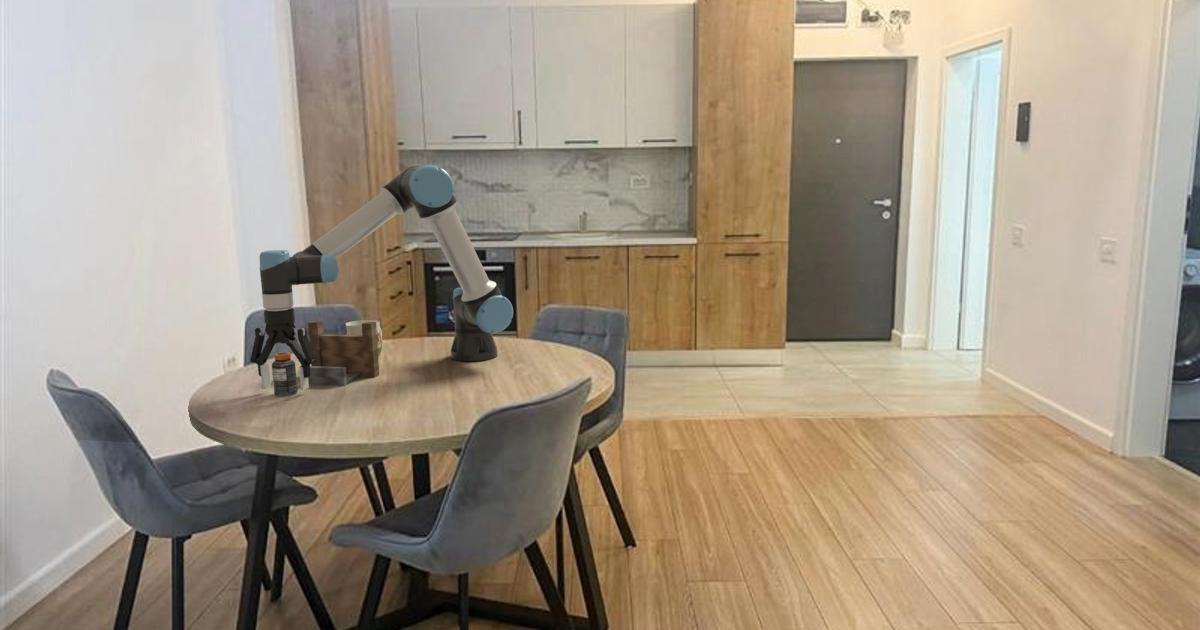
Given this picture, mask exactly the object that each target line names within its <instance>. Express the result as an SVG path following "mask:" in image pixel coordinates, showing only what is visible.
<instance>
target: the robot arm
mask: <svg viewBox="0 0 1200 630" xmlns="http://www.w3.org/2000/svg"><path fill="white" fill-rule="evenodd" d="M454 187H455V186H454V181H453V179H452V177H451V176H450V174H449V173H448V172H447V170H445V169H444V168H442V167H440V166H437V165H433V164H423V165H422V164H421V165H415V166H410V167H407V168H405V169H403V170H402V171H401V172H400V173H398V175H397V176H395V177H393V178H392V179H391V180H390V181H389V182H387V183H386V184H385V185H384V186H383V187H380V193H379V194H377V195H376V196H374V197H373V198H372V199H371V200H369V201H368V202H367V203H365V204H364V205H363V206H362V207H360V208H359V209H358V210H356V211H355V212H353V213H351V214H350V215H349V216H348V217H346V218H345V219H344V220H342V221H341V222H340V223H339V224H337V225H336V226H334V227H333V228H332V229H330V230H329V231H328V232H326V233H325V234H324V235H322V236H321V237H319V238H318V239H317V240H315V241H314V242H313V243H312V244H310V245H308V246H307V247H305V249H303V250H301V251H298V252H296V253H294V254H292V255H290V251H288V250H285V249H278V250H277V249H276V250H275V249H273V250H264V251H261V252H260V254H259V275H260V276H259V277H260V284H261V285H260V286H261V295H262V296H261V297H262V307H263V308H262V309H264V311H263V316H264V317H263V318H264V319H263V320H264V323H265V327H264V326H260V327H256V328H255V329H254V334H255V338H254V342H253V347H252V351H251V356H250V363H254V364H256V366H257V372H258V376H259V377H261V389H262V390H267V389H268V388H271V387H272V384H271V374H270V365H269V364H270V363H268V359H269V356H270V354H271V352H272V350H273V349H274V347H275V344H279V343H280V344H285V345H286V346H288V347H289V348H290V350H291V352H292V353H293V354H294V356H295V357H296V359H297V360H298V362H299V363H300V364H301V365H300V366H299V367H298V370H299V382H300V383H299V384H300V391H303V392H304V391H306V390H307V389H309V388H310V385H309V382H308V377H310V366H311V364H312V363H315V362H316V358H315V355H314V353H313V350H312V348H311V345H310V341H309V336H307V335H308V333H307V332H308V331H307V328H306V327H305V326H304V327H300V328H299V327H298V328H297V327H296V325H295V320H296V318H295V309H294V294H293V286H299V285H311V284H313V285H314V284H316V285H317V284H327V283H328V284H329V283H334V282H336V281H337V280H338V277H339V266H338V265H339V264H338V261H337V260H338V259H339V258H340V257H342V256H343V255H344V254H345V253H347V252H348V251H349V250H351V249H352V248H353V247H355V246H356V245H358V244H359V243H361V241H363V240H364V239H366V238H367V237H368V236H370V235H371V234H372V233H373V232H374V231H376V230H378V229H379V228H380V227H381V226H383V225H384V224H385V223H387V222H388V221H389V220H391V219H392V218H393V217H395V216H396V215H403V214H405V213H407V211H410V210H411V209H413V208H415V211H416V212H417V213H418V216H419V218H420V219H421V220H423V221H426V222H427V223H428V225H429V226H430V228H431V230H432V232H433V234H434V237H435V238H436V240H437V242H438V244H439V246H440V249H441V251H442V253H443V254H444V256H445V258H446V260H447V262H448V264H449V266H450V268H451V270H452V273H453V275H454V276H455V278H456V280H457V283H458V284H459V287H456V288H454V290H453V292H452V293H453V294H452V295H453V296H452V300H453V303H452V304H453V318H454V320H453V321H454V335H453V336H454V337H453V340H452V343H451V348H450V358H451V359H452V360H454V361H459V362H480V361H486V360H492V359H494V358H496V357H498V351H499V350H498V347H497V344H496V342H495V339H494V336H493V334H496V333H500V332H503V331H504V330H505V329H507V328H508V327H509V325H510V324H511V323H512V319H513V317H514V308H513V304H512V303H511V301H510V300H509V299H508V298H507V297H506V296H503V295H502V292H501V290H500V288H499V287H498V286H499V285H498V284H497V282H496V281H493V280H491V279H489V277H488V275H487V273H486V271H485V269H484V266H483V264H482V262H481V260H480V258H479V255H478V254H477V252H476V250H475V248H474V246H473V243H472V242H471V239H470V237H469V236H468V234H467V231H466V229H465V227H464V225H463V224H462V221H461V219H460V217H459V215H458V213H457V210H456V206H457V205H458V201H457V199H456V196H455V194H454V190H455V188H454ZM265 335H267V336H268V337H267V339H266V341H265ZM295 335H296V336H295ZM264 342H265V345H264Z"/></svg>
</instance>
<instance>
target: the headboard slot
mask: <svg viewBox="0 0 1200 630" xmlns="http://www.w3.org/2000/svg"><path fill="white" fill-rule="evenodd" d="M323 321H324V320H312V321H311V320H310V321H309V322H307V327H308V340H309V342H310V345H311V348H312V350H313V353H314V355H315V358H316V362H315V363H312V364H310V377H308V382H309V386H311V385H312V386H313V385H315V386H317V385H318V386H343V387H344V386H347V385H349V384H351V383H353V382H355V381H356V380H358V379H361V378H362V377H365V378H377V377H378V376H380V365H379V364H380V363H379V360H378V345H377V330H376V322H364V323H362V335H347V334H326V333H325V332H324V322H323Z"/></svg>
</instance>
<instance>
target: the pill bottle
mask: <svg viewBox="0 0 1200 630" xmlns="http://www.w3.org/2000/svg"><path fill="white" fill-rule="evenodd" d="M291 358H292V356H291V352H289V351H285V352H284V351H282V352H277V353H275V354H274V361H273V362H272V364H271V373H272V375H271V376H272V384H273V392H274V395H275V396H276V397H289V396H290V397H291V396H293V395H296V394H297V393H298V391H299V390H298V381H297V369H296V362H295V361H294V360H293V359H291Z"/></svg>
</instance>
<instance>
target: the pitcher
mask: <svg viewBox="0 0 1200 630" xmlns="http://www.w3.org/2000/svg"><path fill="white" fill-rule="evenodd" d="M364 322H376V330H377V345H378V360H379V359H380V357H381V354H382V349H383V332H382V331H383V330H382V328H381V326H380V322H381V321H380V320H376V319H375V320H374V319H364V320H363V319H362V320H361V319H360V320H353V321H349V322H345V323H344V324H345V327H346V335H362V323H364Z"/></svg>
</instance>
